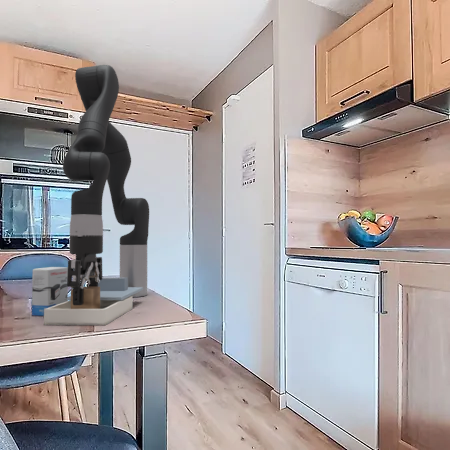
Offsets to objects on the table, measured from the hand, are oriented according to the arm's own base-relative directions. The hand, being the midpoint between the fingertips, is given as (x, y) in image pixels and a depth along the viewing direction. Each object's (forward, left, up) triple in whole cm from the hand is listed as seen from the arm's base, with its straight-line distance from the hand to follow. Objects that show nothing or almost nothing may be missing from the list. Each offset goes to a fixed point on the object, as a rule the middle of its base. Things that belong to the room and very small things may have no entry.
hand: (86, 301), depth 89 cm
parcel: (0, 0, -4) cm, 4 cm away
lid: (-15, 0, 0) cm, 15 cm away
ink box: (-8, -13, -4) cm, 16 cm away
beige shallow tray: (-4, 0, -4) cm, 6 cm away
